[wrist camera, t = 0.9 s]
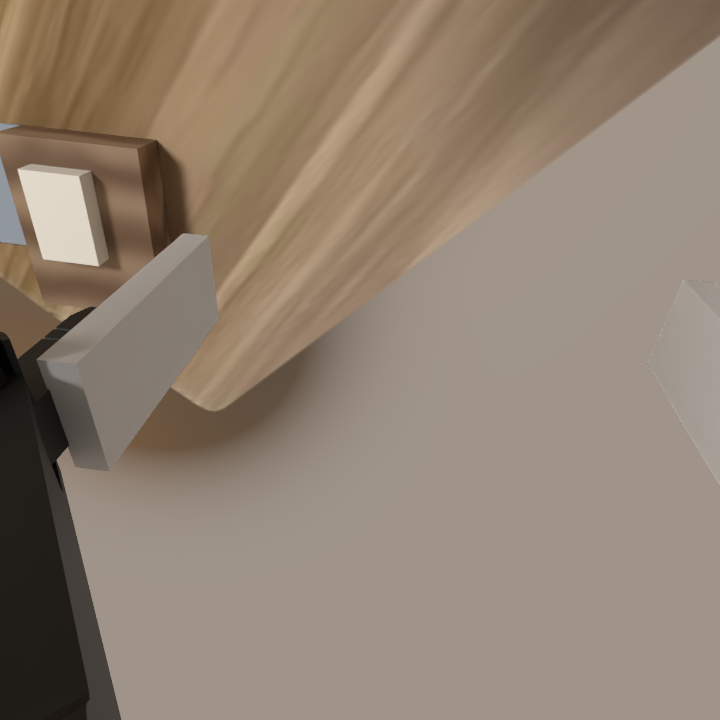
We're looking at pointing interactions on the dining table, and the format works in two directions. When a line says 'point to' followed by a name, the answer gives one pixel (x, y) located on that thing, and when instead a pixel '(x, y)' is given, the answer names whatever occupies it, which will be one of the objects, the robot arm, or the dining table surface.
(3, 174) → the mat
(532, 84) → the dining table surface
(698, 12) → the dining table surface
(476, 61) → the dining table surface
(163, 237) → the brown wooden slab
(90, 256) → the white rectangular block
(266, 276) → the dining table surface
